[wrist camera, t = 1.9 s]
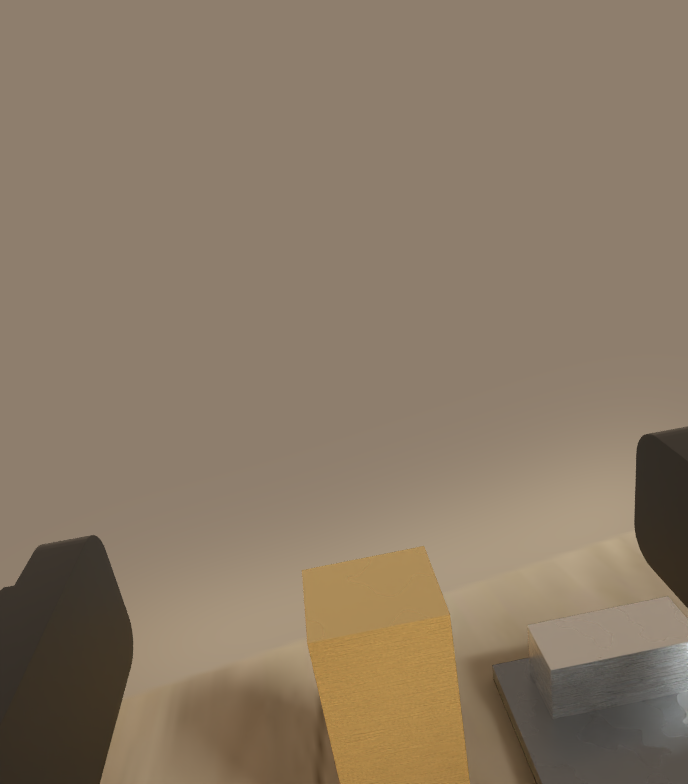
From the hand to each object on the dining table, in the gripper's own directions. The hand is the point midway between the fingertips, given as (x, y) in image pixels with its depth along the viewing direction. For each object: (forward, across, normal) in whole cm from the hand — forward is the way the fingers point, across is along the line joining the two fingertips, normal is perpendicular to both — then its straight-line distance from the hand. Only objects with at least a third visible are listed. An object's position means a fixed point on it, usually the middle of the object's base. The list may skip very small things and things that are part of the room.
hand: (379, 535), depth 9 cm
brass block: (+11, 0, +23) cm, 26 cm away
